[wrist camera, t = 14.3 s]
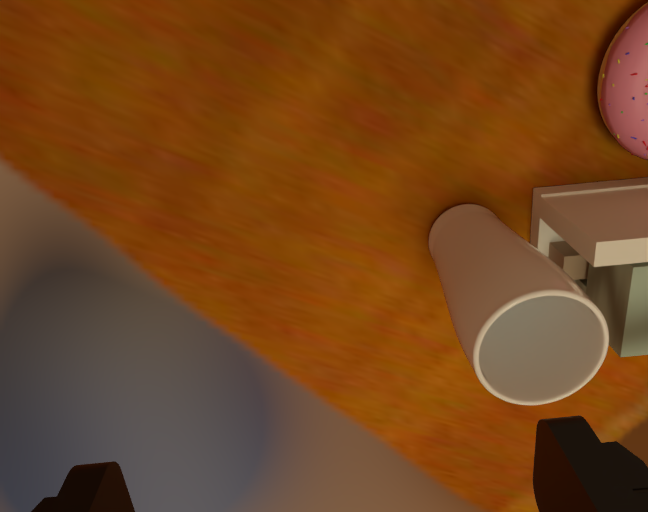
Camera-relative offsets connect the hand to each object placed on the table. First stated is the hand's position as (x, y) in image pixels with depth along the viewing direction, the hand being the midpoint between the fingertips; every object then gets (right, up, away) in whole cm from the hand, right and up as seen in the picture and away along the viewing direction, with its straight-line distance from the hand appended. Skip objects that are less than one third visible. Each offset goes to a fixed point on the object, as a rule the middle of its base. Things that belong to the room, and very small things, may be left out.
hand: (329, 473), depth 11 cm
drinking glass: (+10, +6, +30) cm, 32 cm away
